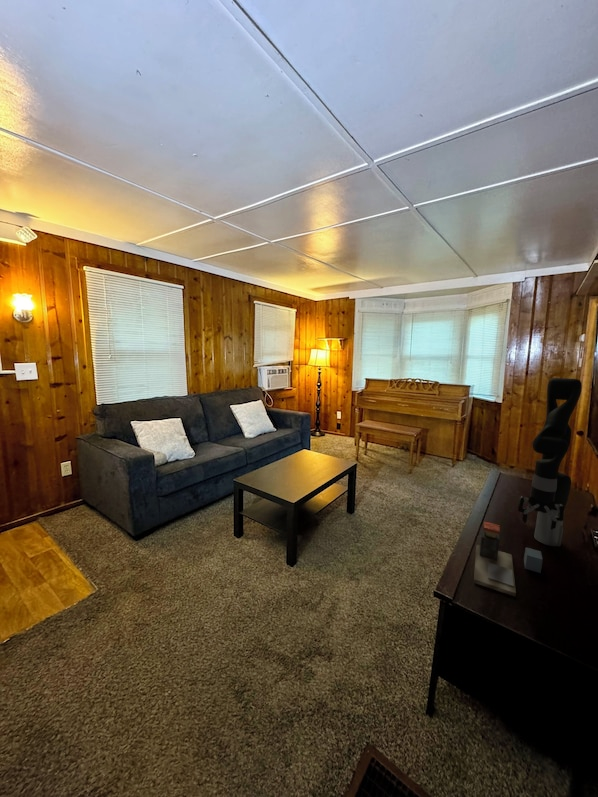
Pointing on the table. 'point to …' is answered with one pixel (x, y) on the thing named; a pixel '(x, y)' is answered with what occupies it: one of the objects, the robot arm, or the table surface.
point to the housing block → (533, 560)
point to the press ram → (491, 530)
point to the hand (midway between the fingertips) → (537, 525)
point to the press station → (494, 566)
